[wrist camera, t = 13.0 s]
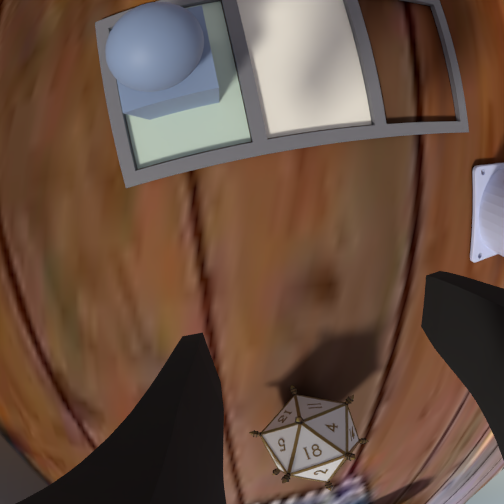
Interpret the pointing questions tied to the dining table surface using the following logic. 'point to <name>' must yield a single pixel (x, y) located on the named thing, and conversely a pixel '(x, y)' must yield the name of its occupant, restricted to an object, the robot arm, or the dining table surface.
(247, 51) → the game board
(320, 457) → the game die
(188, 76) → the pawn
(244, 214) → the dining table surface
